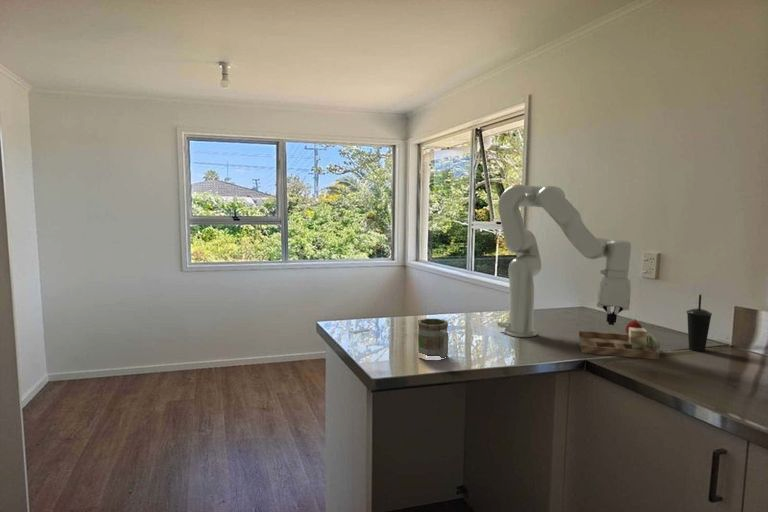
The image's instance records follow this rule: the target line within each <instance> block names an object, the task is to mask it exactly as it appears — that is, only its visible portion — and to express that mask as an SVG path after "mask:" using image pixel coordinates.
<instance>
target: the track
mask: <svg viewBox="0 0 768 512" xmlns="http://www.w3.org/2000/svg"><path fill="white" fill-rule="evenodd" d="M578 331H579V332H578V345H579V348H580V351H581V353H583V354H590V353H592V355H593V354H594V355H601V356H602V355H603V356H613V357H626V358H635V359H636V358H638V359H647V360H648V359H650V360H660V350H661V343H660V342H659V341H658V340H657V339H656V337H655V336H654V335H653V334H652V333H651V332H647V346H644V345H632V344H630V343H629V341H628V336H629V334H627V333H620V332H619V333H618V332H617V333H615V332H605V331H603V332H602V331H592V330H591V331H590V330H578Z"/></svg>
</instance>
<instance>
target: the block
mask: <svg viewBox="0 0 768 512" xmlns="http://www.w3.org/2000/svg"><path fill="white" fill-rule="evenodd" d="M647 336H648V331H647V329H645V328H643V327H642V328H632V327H629V336H628V341H629V343H630V344H632V345H644V346H647Z"/></svg>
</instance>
